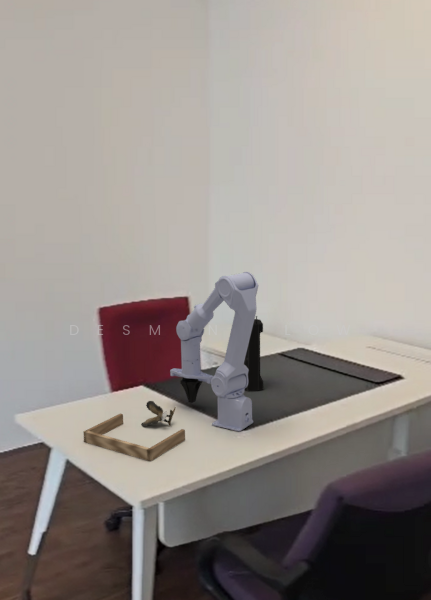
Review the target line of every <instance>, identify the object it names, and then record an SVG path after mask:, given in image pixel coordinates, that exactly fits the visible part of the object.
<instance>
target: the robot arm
mask: <svg viewBox="0 0 431 600" xmlns="http://www.w3.org/2000/svg"><path fill="white" fill-rule="evenodd" d="M255 277H256V276H255V275H254V274H252V273H251V272H250V271H244V272H241V273H235V274H231V275H222V276H221V277H219V278H218V280H217V281H216V282H215V284H214V288H213V290H212V291H211V293H210V294H209V296H208V297H207V298H206V300H205V301H204V302H203V303H198V304H195V305H194V306H193V310H192V311H191V313H189V314H188V315H187V316H186V319H184V320H179V321H178V323H177V325H176V327H175V329H176V331H175V332H176V335H177V336H178V338H179V339H180V353H181V354H180V355H181V356H180V357H181V360H180V361H181V368H172V369H170V371H169V373H170V377H179V378H182V379H180V381H179V382H180V383H179V384H180V385H181V386H182V388H183V390H184V392H185V395H186V398H187V401H188V403H191V404H192V403H194V402H196V400H197V397H198V393H199V390H200V387H201V385H202V383H203V382H204V383H207V384H209V385H211V389H212V392H213V393H214V394H215V396H216V397H217V419H216V420H215V421H213V422H212V423H211V426H213V427H214V426H215V427H218V428H219V427H220V428H223V429H227V430H232V431H236V432H241V431H243V430H244V429H245V428H247V427H248V426H251V425H252V424H253V423H254V420H253V401H252V399H251V398H250V397H248V396H246V395H244V393H245V390H246V389H245V388H246V387H247V386H248V371H249V369H248V368H247V367H246V366H245V365H244V360H245V356H246V352H247V348H248V344H249V340H250V335H251V331H252V327H253V323H254V319H256V316H257V294H258V289H259V283H258V282H257V279H256V278H255ZM224 302H225V304H226V305H227V306H228V308H230V310H232V311H234V316H233V320H232V325H231V329H230V334H229V337H228V342H227V346H226V352H225V355H224V359H223V362H222V363H221V364H220V365H219V366H218V367H217V368H216V369H215V370H216V371H215V373H214V375H212V374H209V373H206V372H203V371H202V369H201V365H202V363H201V342H202V337H203V335H204V334H205V328H206V327H207V326H208V325H209V323H210V322H211V321H212V319H213V318H214V313H215V312H214V311H215V310H216V309H217V308H218V307H220V305H221V304H222V303H224Z"/></svg>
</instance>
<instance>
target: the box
mask: <svg viewBox="0 0 431 600" xmlns="http://www.w3.org/2000/svg"><path fill="white" fill-rule="evenodd" d="M123 425H124V414H122V413H118V414H117V415H115V416H112V417H110V418H108V419H106V420H104V421H102V422H100V423H98V424H96V425H94V426H91V427H90V428H88V429H85V430H84V431H83V442H84V443H87V444H89V445H92V446H93V445H94V446H95V447H100V448H103V449H107V450H111V451H114V452H116V453H121V454H125V455H127V456H130V457H133V458H134V457H135V458H138V459H141V460H145V461H147V462H152V461H154V460H156V459H157V458H159V457H160V456H162V455H163V454H165V453H167V452H169V451H170V450H172V449H174V448H175V447H177V446H178V445H180V444H181V443H183V442H185V441H186V429H184V428H181V429H179V430H178V431H176V432H175V433H172V434H171V435H169V436H168V437H165V438H164V439H163V440H161V441H159V442H158V443H156V444H154V445H152V446H151V447H147V446H144V445H140V444H136V443H133V442H130V441H125V440H123V439H119V438H116V437H111V436H108V435H105V434H107V433H109V432H110V431H112V430H114V429H116V428H119V427H120V426H123Z"/></svg>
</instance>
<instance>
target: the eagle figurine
mask: <svg viewBox="0 0 431 600" xmlns="http://www.w3.org/2000/svg"><path fill="white" fill-rule="evenodd" d="M145 406H146V408H147V410H148V411H150V412H151V413H152V414H154V415H155V416H153V417H149V418H148V419H146V420H145V421H143V422H141V424H140V425H141V426H142V427H147V426H149V425H156V424H158V423H159V422H160V423H162V422H165V423H167V424H168V426H169V427H171V426H172V424H171V423H172V420H173V416H174V414H175V411H176V408H177V407H176V406H175V407H174V408H173V409H169V414H168V412H167V410H165V411H164V410H163V408H162V407H161V406H160V405H158V404H157V403H155V402H154V400H148V401H147V402H146V404H145ZM166 418H168V419H166Z"/></svg>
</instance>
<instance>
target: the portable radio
mask: <svg viewBox="0 0 431 600" xmlns="http://www.w3.org/2000/svg"><path fill="white" fill-rule="evenodd" d="M263 332H264V323H263V322H262V320H261V319H258V315H255V319H254V323H253V327H252V331H251V335H250V340H249V344H248V348H247V352H246V356H245V360H244V365H245V366H246V367H247V368H248V369H249V371H248V386H247V387H246V388H245V389H244V390H246V392H256V391H257V392H258V391H263V390H264V381H263V378H262V376H261V333H263Z"/></svg>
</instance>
